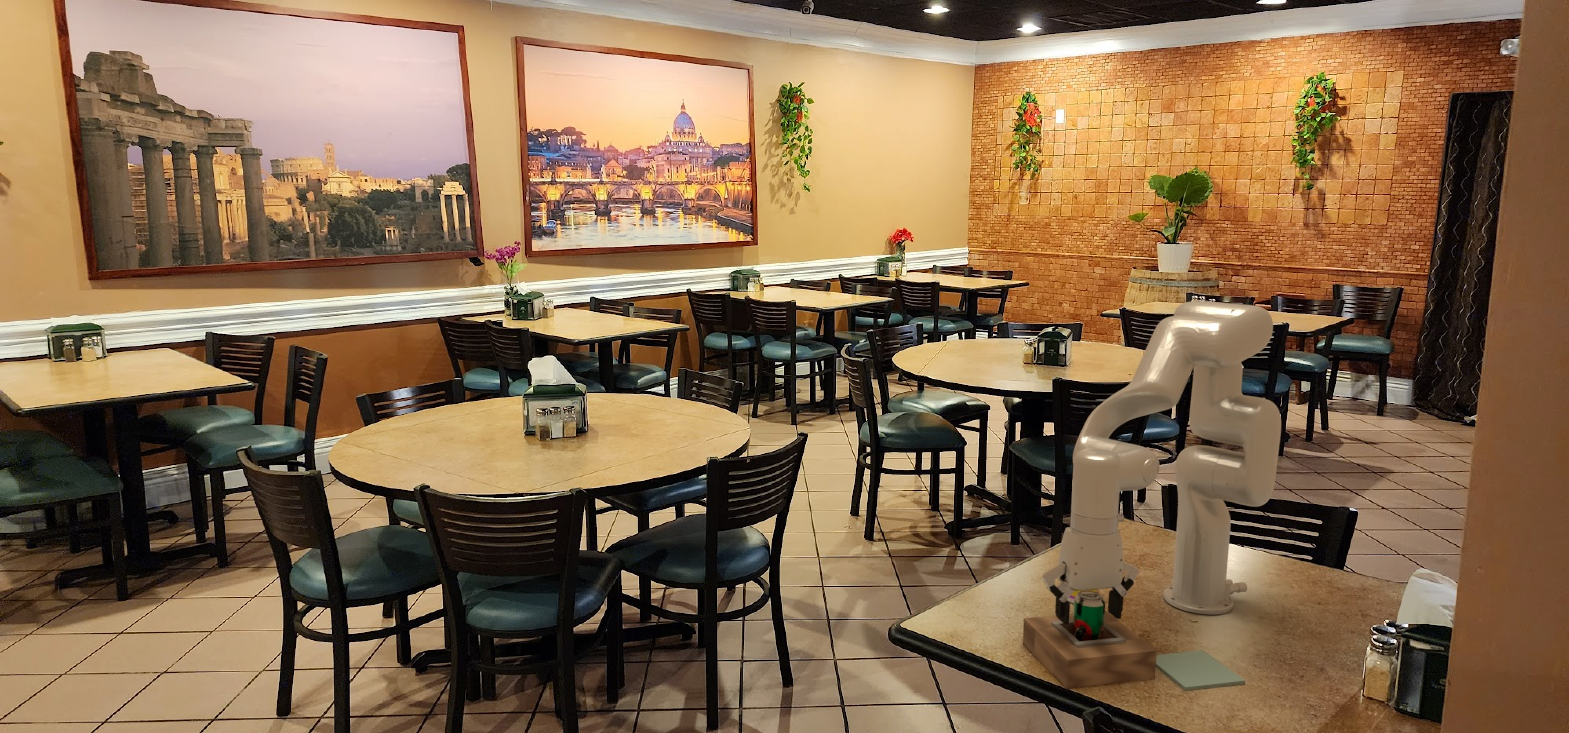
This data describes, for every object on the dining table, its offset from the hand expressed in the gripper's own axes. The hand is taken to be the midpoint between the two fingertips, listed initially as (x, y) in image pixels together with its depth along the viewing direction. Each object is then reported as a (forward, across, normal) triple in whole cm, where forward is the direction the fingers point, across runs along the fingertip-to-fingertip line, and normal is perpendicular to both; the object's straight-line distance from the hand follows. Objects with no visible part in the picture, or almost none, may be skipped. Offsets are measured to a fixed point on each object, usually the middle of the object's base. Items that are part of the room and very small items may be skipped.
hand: (1088, 618), depth 161 cm
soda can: (+8, 0, 0) cm, 8 cm away
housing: (+8, 0, 0) cm, 8 cm away
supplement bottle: (+8, -12, -24) cm, 28 cm away
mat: (+8, -16, +7) cm, 19 cm away
